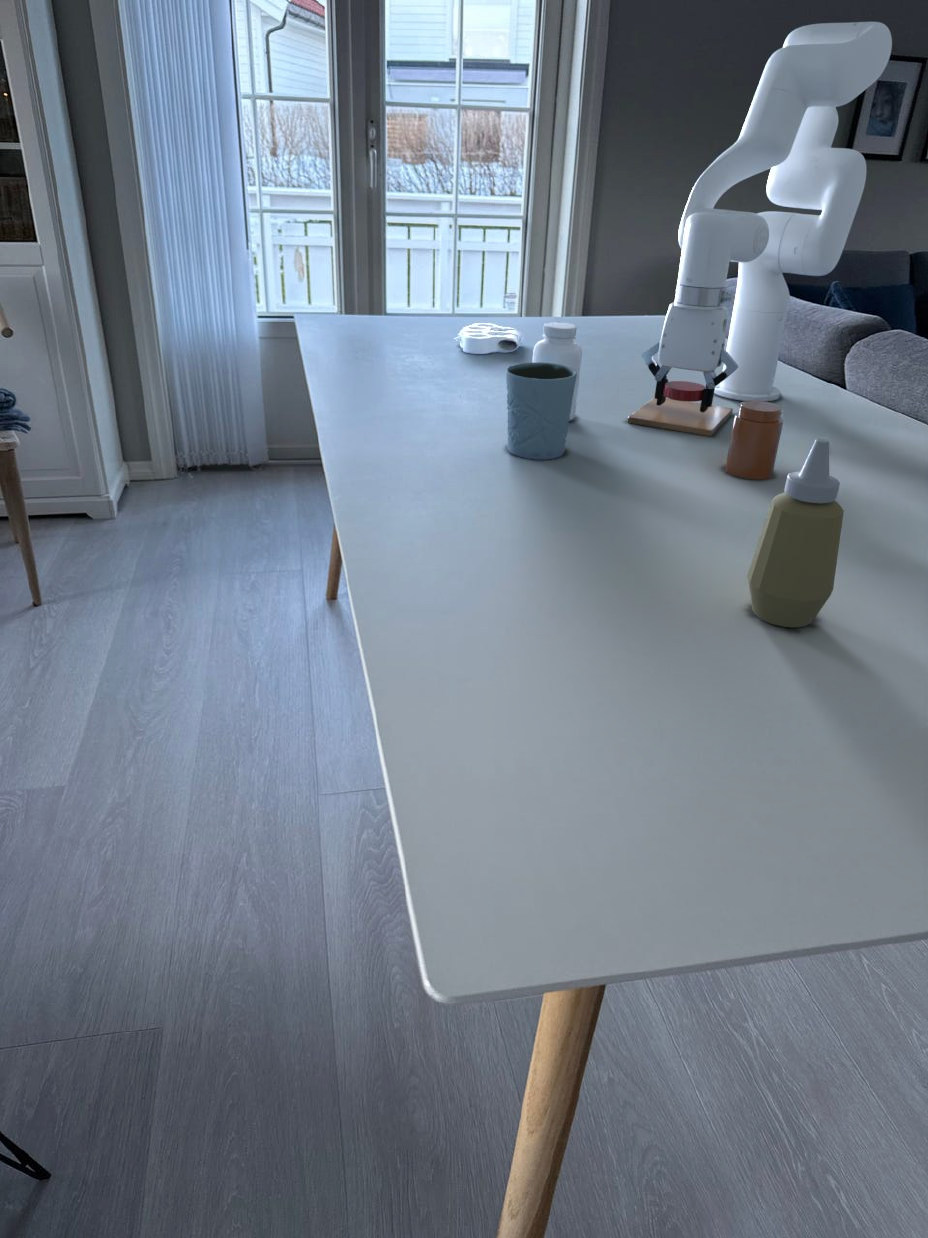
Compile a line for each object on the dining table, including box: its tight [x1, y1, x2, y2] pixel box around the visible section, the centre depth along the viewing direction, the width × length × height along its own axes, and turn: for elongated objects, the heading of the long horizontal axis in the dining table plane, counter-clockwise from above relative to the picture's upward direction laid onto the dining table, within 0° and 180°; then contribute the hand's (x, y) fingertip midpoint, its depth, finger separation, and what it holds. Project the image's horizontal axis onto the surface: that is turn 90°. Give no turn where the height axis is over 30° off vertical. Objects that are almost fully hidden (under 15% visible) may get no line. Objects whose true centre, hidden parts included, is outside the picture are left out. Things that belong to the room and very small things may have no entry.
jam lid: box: [663, 380, 706, 403], centre depth 152 cm, size 7×7×2 cm
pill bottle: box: [531, 321, 583, 422], centre depth 148 cm, size 8×8×15 cm
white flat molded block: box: [453, 322, 524, 355], centre depth 201 cm, size 3×18×15 cm
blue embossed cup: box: [505, 362, 577, 460], centre depth 132 cm, size 10×10×12 cm
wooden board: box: [627, 396, 734, 437], centre depth 154 cm, size 16×14×1 cm
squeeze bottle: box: [746, 438, 845, 628], centre depth 86 cm, size 8×8×18 cm
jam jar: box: [724, 401, 784, 481], centre depth 128 cm, size 7×7×10 cm
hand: (682, 406), depth 153 cm, fingers closed on jam lid, 6 cm apart
